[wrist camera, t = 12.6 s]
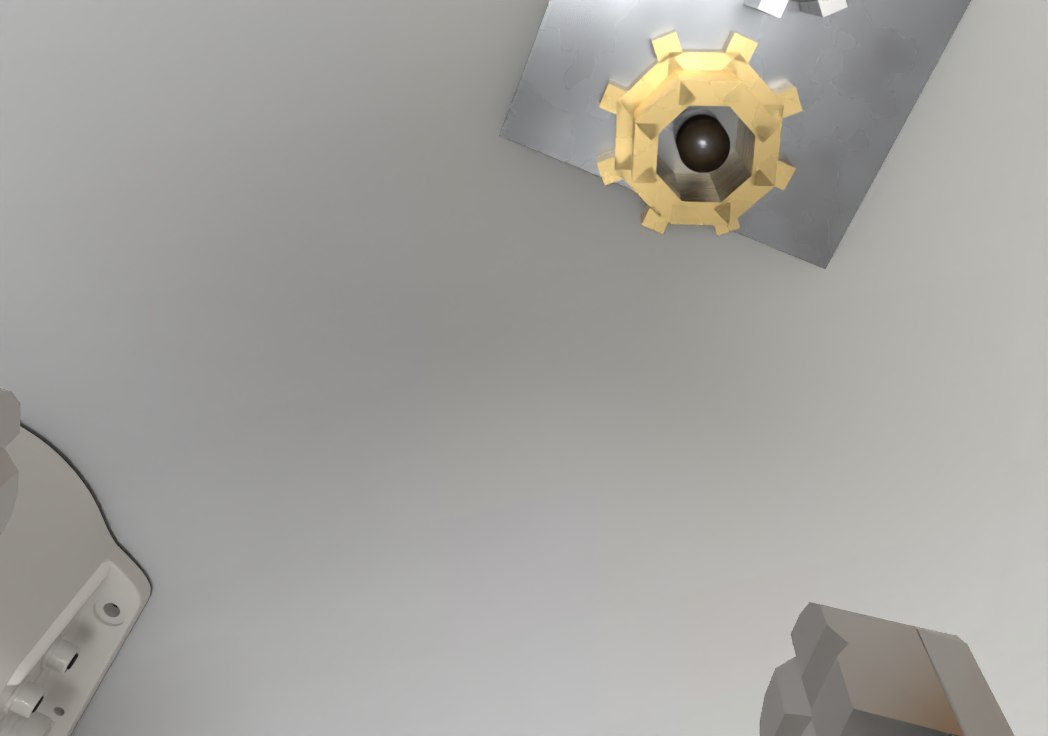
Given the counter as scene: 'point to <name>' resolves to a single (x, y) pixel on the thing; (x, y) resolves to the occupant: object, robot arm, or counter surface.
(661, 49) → the gear
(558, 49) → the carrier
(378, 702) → the counter surface
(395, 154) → the counter surface
